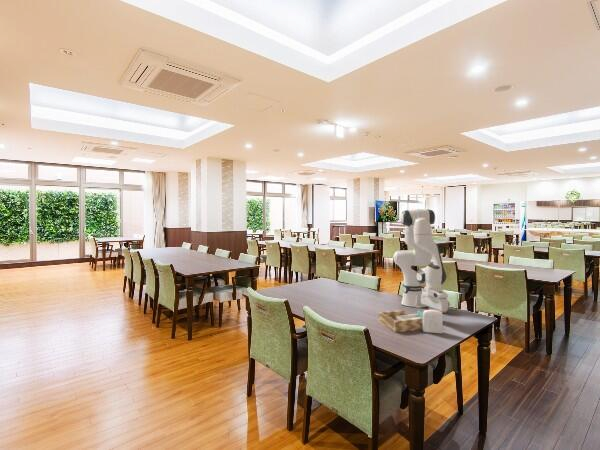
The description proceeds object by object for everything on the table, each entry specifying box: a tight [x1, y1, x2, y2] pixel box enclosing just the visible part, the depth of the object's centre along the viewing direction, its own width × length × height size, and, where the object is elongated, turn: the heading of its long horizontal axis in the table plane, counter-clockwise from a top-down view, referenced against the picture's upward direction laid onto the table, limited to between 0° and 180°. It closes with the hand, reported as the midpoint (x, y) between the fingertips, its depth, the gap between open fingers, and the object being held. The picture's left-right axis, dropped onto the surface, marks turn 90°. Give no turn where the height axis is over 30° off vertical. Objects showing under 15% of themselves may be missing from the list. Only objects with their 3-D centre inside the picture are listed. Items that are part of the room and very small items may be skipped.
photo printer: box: [422, 309, 444, 335], centre depth 174 cm, size 10×4×12 cm, turn 77°
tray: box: [395, 309, 424, 321], centre depth 186 cm, size 17×14×4 cm
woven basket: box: [377, 309, 423, 333], centre depth 184 cm, size 18×18×6 cm
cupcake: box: [438, 300, 451, 314], centre depth 208 cm, size 9×9×10 cm
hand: (433, 315), depth 190 cm, fingers closed
